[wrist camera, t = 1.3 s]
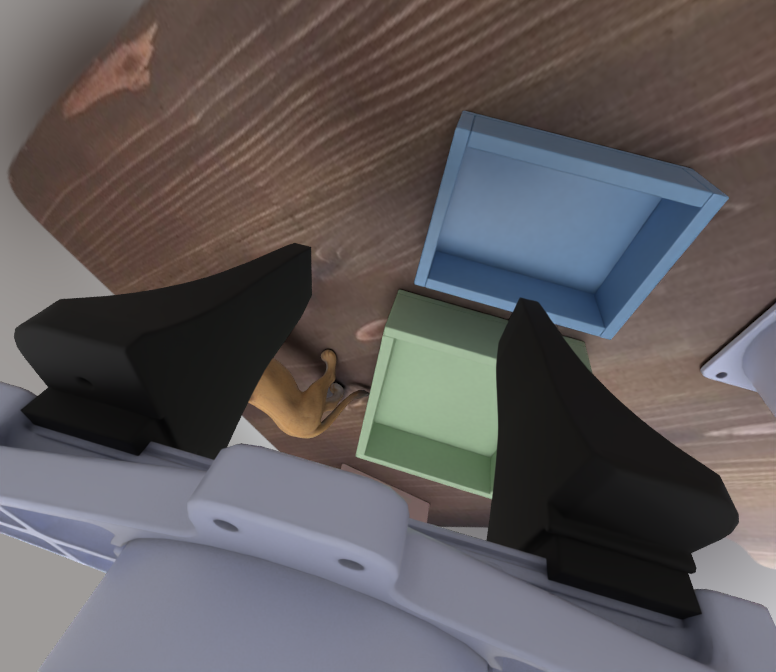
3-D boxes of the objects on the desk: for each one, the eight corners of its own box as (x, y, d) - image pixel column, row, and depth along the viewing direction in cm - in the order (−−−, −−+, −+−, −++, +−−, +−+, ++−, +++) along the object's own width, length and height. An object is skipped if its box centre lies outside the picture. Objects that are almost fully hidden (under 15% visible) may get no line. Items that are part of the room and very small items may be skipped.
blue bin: (692, 168, 16) (730, 197, 13) (597, 300, 21) (610, 340, 18) (463, 109, 17) (456, 126, 14) (423, 252, 22) (413, 284, 19)
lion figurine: (207, 321, 30) (126, 404, 24) (218, 277, 27) (125, 361, 20) (359, 402, 33) (323, 498, 26) (386, 372, 29) (353, 474, 23)
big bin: (398, 288, 24) (384, 326, 21) (584, 341, 23) (597, 388, 20) (367, 419, 34) (355, 456, 31) (495, 458, 34) (494, 500, 31)
